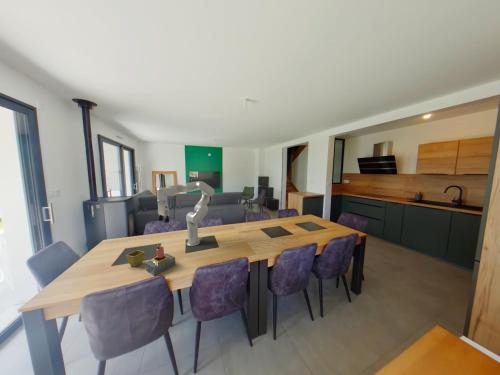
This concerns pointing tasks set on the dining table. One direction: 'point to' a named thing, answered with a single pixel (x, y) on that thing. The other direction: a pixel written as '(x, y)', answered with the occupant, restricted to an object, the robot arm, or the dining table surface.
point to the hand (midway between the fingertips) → (164, 221)
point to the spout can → (160, 253)
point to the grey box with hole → (160, 264)
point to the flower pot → (135, 257)
